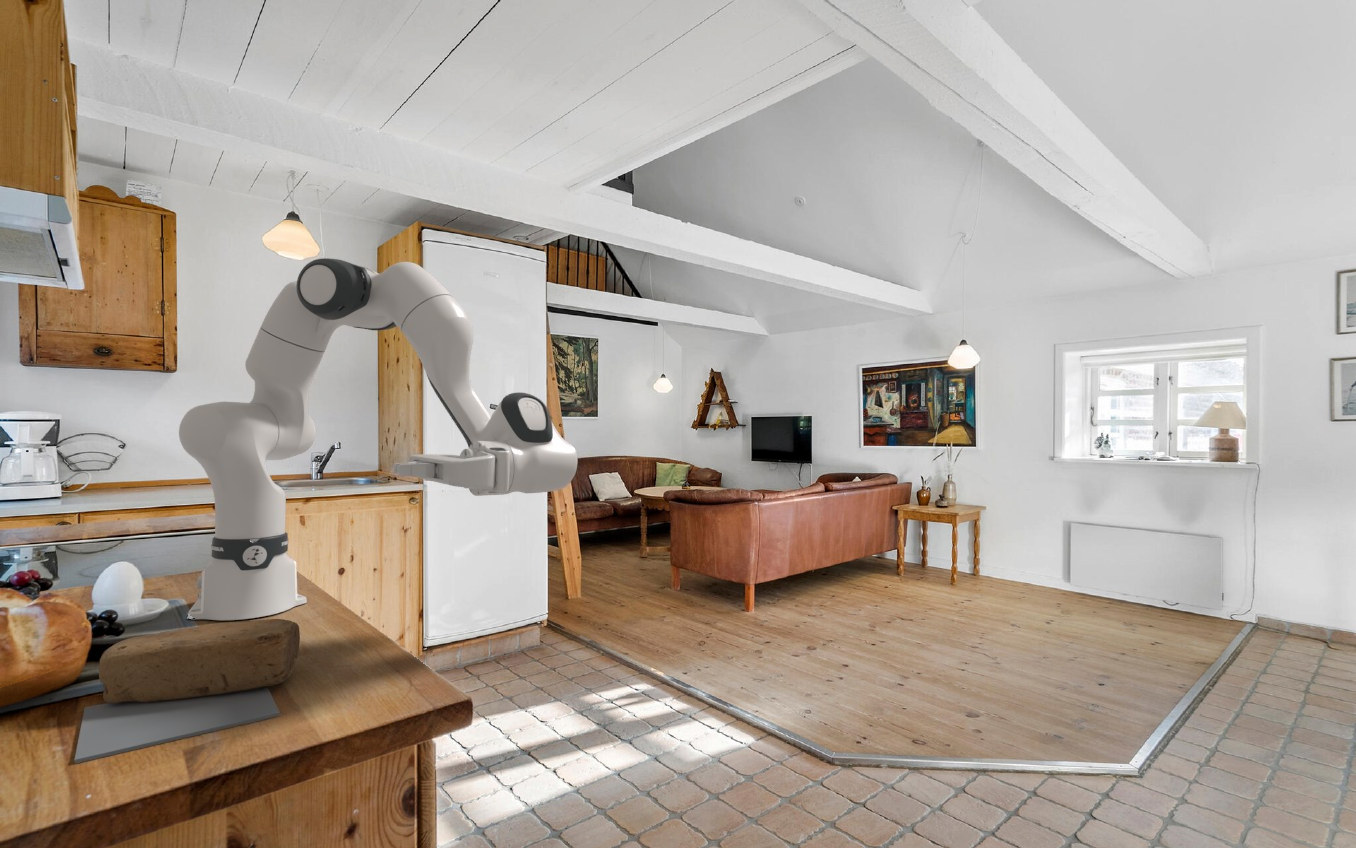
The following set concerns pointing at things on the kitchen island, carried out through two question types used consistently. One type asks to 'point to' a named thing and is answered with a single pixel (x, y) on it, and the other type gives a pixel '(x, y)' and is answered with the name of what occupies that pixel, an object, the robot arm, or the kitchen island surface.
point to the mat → (166, 721)
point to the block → (199, 661)
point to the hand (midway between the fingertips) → (395, 469)
